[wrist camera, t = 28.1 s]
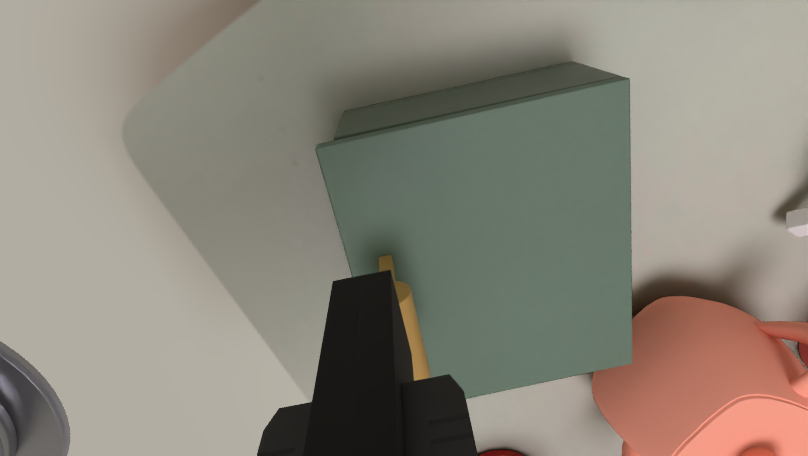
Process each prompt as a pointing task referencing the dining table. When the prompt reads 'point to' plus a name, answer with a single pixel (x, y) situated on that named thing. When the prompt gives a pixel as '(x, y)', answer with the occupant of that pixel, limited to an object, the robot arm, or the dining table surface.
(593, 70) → the bin
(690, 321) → the teapot
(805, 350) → the flower pot
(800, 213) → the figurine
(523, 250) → the bin lid
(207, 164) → the dining table surface
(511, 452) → the canned food
